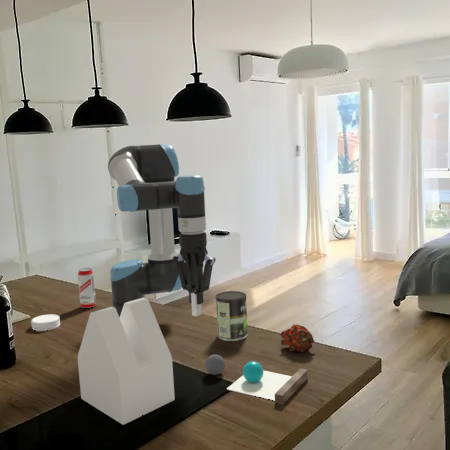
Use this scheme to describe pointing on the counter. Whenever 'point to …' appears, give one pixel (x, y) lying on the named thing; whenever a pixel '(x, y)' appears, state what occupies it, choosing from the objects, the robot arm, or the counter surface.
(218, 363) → the gray ball
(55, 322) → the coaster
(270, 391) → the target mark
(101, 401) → the white v-notch block
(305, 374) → the stopper wall
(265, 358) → the counter surface
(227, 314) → the coffee can
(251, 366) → the teal ball
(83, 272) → the beer can
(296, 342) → the dragon fruit
